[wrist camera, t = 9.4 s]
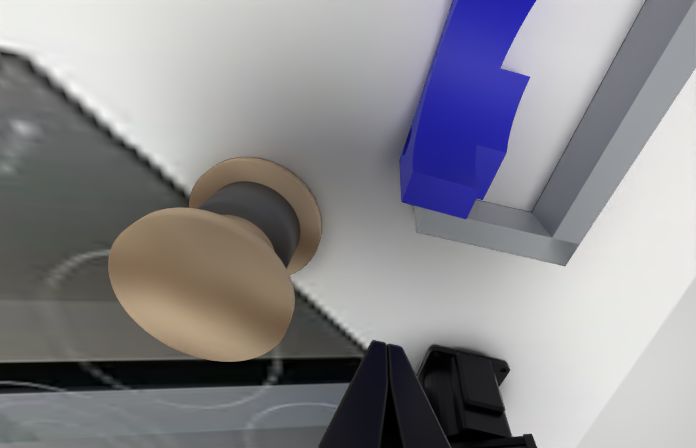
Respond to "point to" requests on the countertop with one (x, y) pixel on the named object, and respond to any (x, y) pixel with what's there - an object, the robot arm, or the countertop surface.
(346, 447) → the robot arm
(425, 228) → the gray u-shaped bracket
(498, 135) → the cable clip
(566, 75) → the countertop surface
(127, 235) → the bobbin
